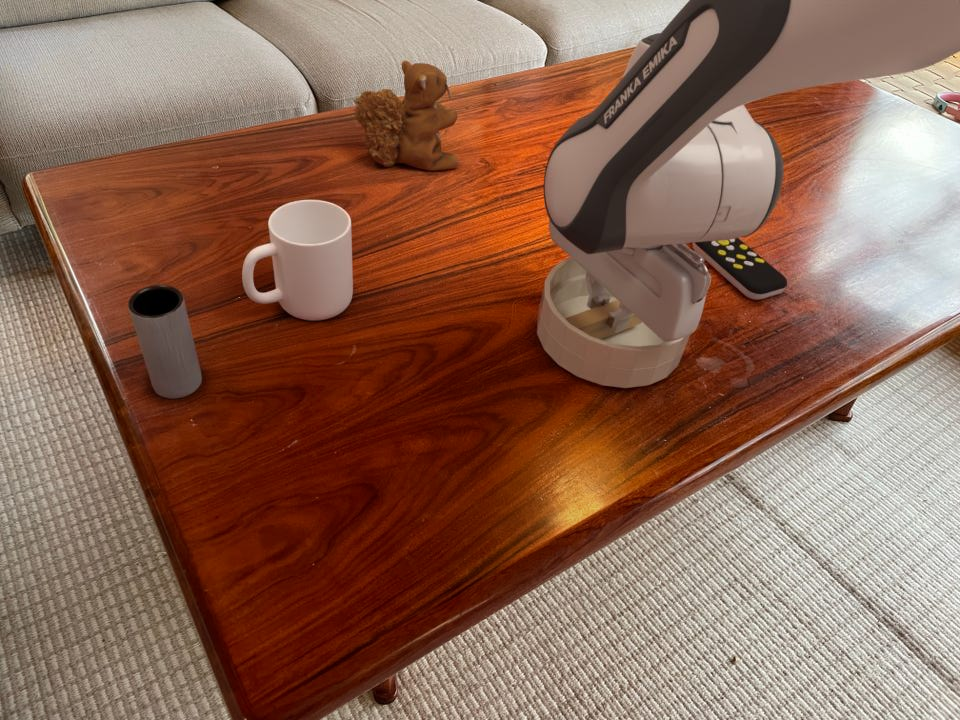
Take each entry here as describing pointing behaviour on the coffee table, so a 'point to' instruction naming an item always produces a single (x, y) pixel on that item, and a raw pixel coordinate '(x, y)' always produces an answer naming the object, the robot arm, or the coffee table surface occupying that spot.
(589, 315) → the tan wooden bar
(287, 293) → the cup
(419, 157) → the stuffed squirrel
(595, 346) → the bowl
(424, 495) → the coffee table surface
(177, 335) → the grey hollow cylinder
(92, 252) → the coffee table surface
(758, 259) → the remote control
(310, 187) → the coffee table surface
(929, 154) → the coffee table surface
